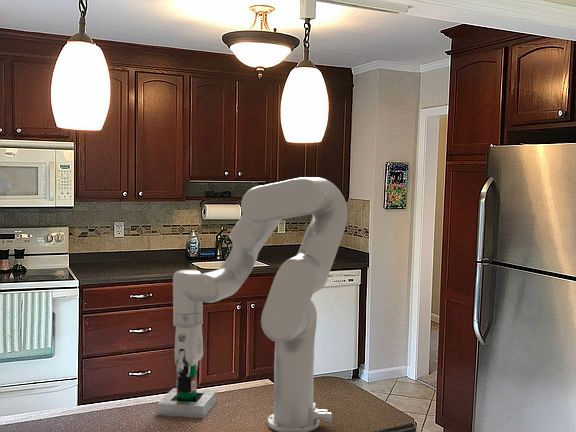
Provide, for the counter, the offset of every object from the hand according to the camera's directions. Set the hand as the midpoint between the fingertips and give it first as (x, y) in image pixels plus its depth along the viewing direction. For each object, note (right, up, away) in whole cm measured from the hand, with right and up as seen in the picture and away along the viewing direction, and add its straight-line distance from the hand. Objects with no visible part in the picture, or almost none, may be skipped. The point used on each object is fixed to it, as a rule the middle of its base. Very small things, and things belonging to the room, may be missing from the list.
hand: (188, 387), depth 161 cm
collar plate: (0, -5, 0) cm, 6 cm away
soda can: (0, -5, 0) cm, 5 cm away
